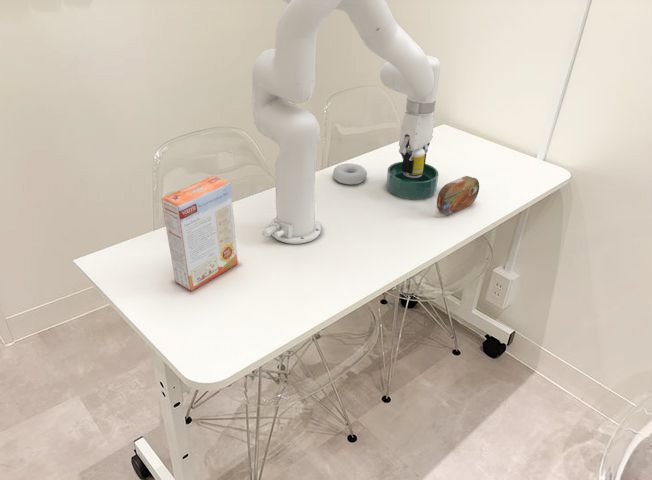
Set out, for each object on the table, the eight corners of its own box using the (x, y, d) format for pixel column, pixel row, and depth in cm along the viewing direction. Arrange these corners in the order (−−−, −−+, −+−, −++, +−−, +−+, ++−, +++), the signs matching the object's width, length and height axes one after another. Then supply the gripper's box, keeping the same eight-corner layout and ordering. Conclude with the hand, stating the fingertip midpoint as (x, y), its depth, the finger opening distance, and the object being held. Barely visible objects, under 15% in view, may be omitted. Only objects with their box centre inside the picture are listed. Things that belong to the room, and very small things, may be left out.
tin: (441, 219, 154) (445, 190, 149) (432, 214, 156) (436, 186, 151) (477, 203, 162) (482, 175, 157) (468, 198, 164) (473, 171, 159)
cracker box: (220, 255, 137) (213, 173, 125) (238, 265, 134) (232, 182, 122) (172, 281, 128) (159, 196, 116) (190, 292, 125) (179, 206, 113)
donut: (332, 186, 169) (367, 186, 169) (332, 175, 167) (367, 175, 167) (333, 171, 177) (366, 172, 177) (333, 161, 175) (366, 161, 175)
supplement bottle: (426, 174, 166) (430, 142, 160) (414, 180, 162) (418, 147, 157) (411, 168, 169) (414, 136, 163) (399, 174, 166) (402, 141, 160)
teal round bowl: (427, 204, 160) (429, 186, 157) (378, 193, 165) (380, 175, 162) (441, 184, 171) (444, 167, 168) (396, 174, 176) (397, 157, 173)
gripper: (426, 95, 162) (418, 156, 172) (390, 110, 151) (384, 174, 161) (449, 101, 158) (440, 163, 168) (414, 117, 147) (407, 182, 157)
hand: (413, 168), depth 164 cm, fingers closed on supplement bottle, 5 cm apart
